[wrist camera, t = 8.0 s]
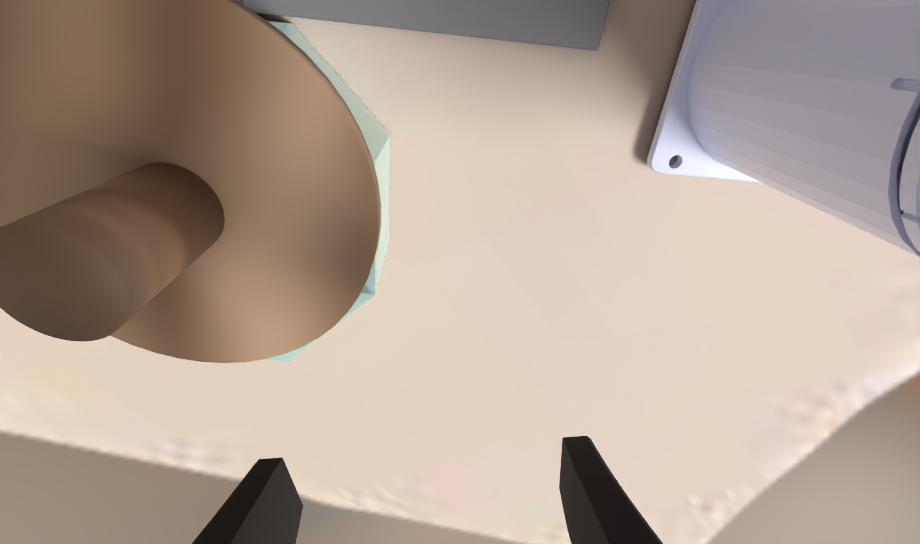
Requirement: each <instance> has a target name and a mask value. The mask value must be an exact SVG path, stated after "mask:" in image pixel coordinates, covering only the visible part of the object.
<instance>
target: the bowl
mask: <svg viewBox="0 0 920 544" xmlns="http://www.w3.org/2000/svg"><path fill="white" fill-rule="evenodd" d="M268 22H269V23H271V24H272V25H273V26H275V27H276V28H278V29H279V30H280V31H282V32H283V33H284V34H285V35H286V36H287V37H288V38H289V39H291V40H292V41H293V42H294V43H295V44H296V45H297V46H298V47H299V48H301V49H302V50H303V51H304V52H305V53H306V54H307V55H308V56H309V57H310V58H311V59H312V61H313V62H314V63H315V64H316V65H317V66H318V67H319V68H320V69H321V71H322V72H323V73H324V74H325V75H326V76H327V77H328V78H329V80H330V81H331V83H332V84H333V85H334V87H335V88H336V90H337V91H338V92H339V94H340V95H341V97H342V98H343V99H344V101H345V102H346V104H347V106H348V107H349V109H350V111H351V113H352V115H353V116H354V118H355V120H356V122H357V124H358V125H359V127H360V129H361V131H362V134H363V136H364V139H365V141H366V144H367V146H368V149H369V151H370V153H371V156H372V160H373V164H374V167H375V171H376V175H377V179H378V185H379V192H380V200H381V229H380V236H379V242H378V248H377V251H376V255H375V258H374V261H373V264H372V267H371V270H370V274H369V277H368V279H367V281H366V283H365V285H364V287H363V289H362V291H361V293H360V295H359V297H358V298H357V300H356V301H355V303H354V304H353V306H352V307H351V308H350V310H349V311H348V312H347V313H346V314H345V316H344V317H343V318H342V319H344V318H345V317H346V316H348V315H349V314H350V313H351V312H353V311H354V310H355V309H357V308H358V307H359V306H361V305H362V304H363V303H364V302H366V301H367V300H368V299H370V298H371V297H372V296H374V295H375V293H376V290H377V286H378V282H379V279H380V275H381V272H382V268H383V264H384V261H385V257H386V254H387V250H388V246H389V194H390V133H389V132H388V131H387V130H386V129H385V128H384V127H383V125H382V124H381V123H380V122H379V121H378V120H377V119H376V117H375V116H374V115H373V114H372V113H371V112H370V111H369V110H368V108H367V107H366V106H365V105H364V104H363V103H362V102H361V100H360V99H359V98H358V97H357V96H356V95H355V94H354V93H353V91H352V90H351V89H350V88H349V87H348V86H347V85H346V83H345V82H344V81H343V80H342V79H341V78H340V77H339V76H338V74H337V73H336V72H335V71H334V70H333V69H332V68H331V66H330V65H329V64H328V63H327V62H326V61H325V60H324V59H323V57H322V56H321V55H320V54H319V53H318V52H317V51H316V50H315V48H314V47H313V46H312V45H311V44H310V43H309V42H308V40H307V39H306V38H305V37H304V36H303V35H302V34H301V33H300V31H299V30H298V29H297V28H296V27H295V26H294V25H293V24H292V23H284V22H275V21H268ZM342 319H341V320H342ZM341 320H340V321H341ZM340 321H339V322H340ZM317 339H318V338H317ZM315 340H316V339H315ZM315 340H314V341H315ZM314 341H312V342H314ZM312 342H310V343H308V344H307V345H305V346H303V347H301V348H298V349H296V350H293V351H291V352H288V353H286V354H282V355H279V356H275V357H271V358H267V359H262V360H277V361H289V360H290V359H292V358H293V357H294V356H296V355H297V354H298V353H299V352H301V351H302V350H303V349H305V348H306V347H307V346H309V345H310V344H311V343H312Z"/></svg>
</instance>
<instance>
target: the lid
mask: <svg viewBox="0 0 920 544" xmlns="http://www.w3.org/2000/svg"><path fill="white" fill-rule="evenodd" d="M380 229H381V200H380V192H379V185H378V179H377V175H376V171H375V167H374V164H373V160H372V156H371V153H370V151H369V149H368V146H367V144H366V141H365V139H364V136H363V134H362V131H361V129H360V127H359V125H358V124H357V122H356V120H355V118H354V116H353V115H352V113H351V111H350V109H349V107H348V106H347V104H346V102H345V101H344V99H343V98H342V97H341V95H340V94H339V92H338V91H337V90H336V88H335V87H334V85H333V84H332V83H331V81H330V80H329V78H328V77H327V76H326V75H325V74H324V73H323V72H322V71H321V69H320V68H319V67H318V66H317V65H316V64H315V63H314V62H313V61H312V59H311V58H310V57H309V56H308V55H307V54H306V53H305V52H304V51H303V50H302V49H301V48H299V47H298V46H297V45H296V44H295V43H294V42H293V41H292V40H291V39H289V38H288V37H287V36H286V35H285V34H284V33H283V32H282V31H280V30H279V29H278V28H276V27H275V26H273V25H272V24H271V23H269V22H268V21H266V20H265V19H263V18H262V17H261V16H259V15H258V14H256V13H255V12H254V11H252V10H250V9H249V8H247V7H245V6H243V5H241V4H240V3H238V2H236V1H234V0H0V308H1V309H3V310H4V311H5V312H6V313H7V314H9V315H10V316H11V317H13V318H14V319H16V320H17V321H19V322H20V323H22V324H24V325H26V326H27V327H29V328H31V329H33V330H35V331H38V332H40V333H43V334H45V335H48V336H52V337H55V338H59V339H63V340H70V341H93V340H98V339H102V338H105V337H107V336H109V335H110V336H113V337H115V338H117V339H120V340H122V341H124V342H127V343H129V344H131V345H134V346H137V347H140V348H143V349H146V350H149V351H152V352H155V353H159V354H163V355H167V356H172V357H176V358H180V359H187V360H194V361H201V362H217V363H233V362H249V361H255V360H262V359H267V358H271V357H275V356H279V355H282V354H286V353H288V352H291V351H293V350H296V349H298V348H301V347H303V346H305V345H307V344H308V343H310V342H312V341H314V340H315V339H317V338H319V337H321V336H322V335H323V334H324V333H326V332H327V331H328V330H330V329H331V328H332V327H334V326H335V325H336V324H337V323H338V322H339V321H340V320H341V319H342V318H343V317H344V316H345V314H346V313H347V312H348V311H349V310H350V308H351V307H352V306H353V304H354V303H355V301H356V300H357V298H358V297H359V295H360V293H361V291H362V289H363V287H364V285H365V283H366V281H367V279H368V277H369V274H370V270H371V267H372V264H373V261H374V258H375V255H376V251H377V248H378V242H379V236H380Z"/></svg>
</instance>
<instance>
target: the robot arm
mask: <svg viewBox="0 0 920 544" xmlns="http://www.w3.org/2000/svg"><path fill="white" fill-rule="evenodd" d="M675 155H677V156H678V159H677V161H676V163H675V164H674V165H672V166H669V161H670V159H671V158H672V157H673V156H675ZM647 164H648V167H649V168H650V169H651V170H653V171H654V172H657V173H665V174H675V175H686V176H697V177H708V178H719V179H730V180H741V181H752V182H761V183H764V184H766V185H768V186H770V187H772V188H774V189H776V190H778V191H781V192H783V193H785V194H787V195H789V196H791V197H793V198H795V199H798V200H800V201H802V202H804V203H806V204H808V205H810V206H812V207H815V208H817V209H819V210H821V211H823V212H825V213H827V214H829V215H832V216H834V217H836V218H838V219H840V220H842V221H844V222H846V223H848V224H851V225H853V226H855V227H857V228H859V229H861V230H863V231H865V232H868V233H870V234H872V235H874V236H876V237H878V238H880V239H882V240H885V241H887V242H889V243H891V244H893V245H895V246H897V247H899V248H902V249H904V250H906V251H908V252H910V253H912V254H914V255H916V256H919V257H920V0H696V3H695V7H694V10H693V13H692V16H691V19H690V23H689V26H688V29H687V32H686V35H685V39H684V42H683V45H682V48H681V51H680V55H679V58H678V61H677V64H676V67H675V71H674V74H673V77H672V80H671V84H670V87H669V90H668V93H667V96H666V100H665V103H664V106H663V109H662V112H661V116H660V119H659V122H658V125H657V128H656V132H655V135H654V138H653V141H652V144H651V148H650V151H649V154H648V157H647ZM559 488H560V494H561V499H562V504H563V509H564V514H565V519H566V524H567V529H568V533H569V536H570V540H571V543H572V544H663V543H662V542H661V540H660V539H659V538H658V536H657V535H656V534H655V533H654V531H653V530H652V529H651V527H650V526H649V525H648V523H647V522H646V521H645V519H644V518H643V517H642V515H641V514H640V513H639V511H638V510H637V508H636V507H635V506H634V504H633V503H632V502H631V500H630V499H629V497H628V496H627V495H626V493H625V492H624V490H623V489H622V487H621V486H620V484H619V483H618V482H617V480H616V479H615V477H614V476H613V474H612V473H611V471H610V470H609V468H608V467H607V465H606V463H605V462H604V460H603V459H602V457H601V455H600V454H599V452H598V451H597V449H596V447H595V446H594V444H593V442H592V440H591V439H590V438H589V437H588V436H578V437H564V438H563V441H562V456H561V470H560V485H559ZM302 508H303V505H302V502H301V500H300V498H299V495H298V493H297V491H296V488H295V486H294V483H293V481H292V479H291V476H290V474H289V472H288V469H287V467H286V465H285V462H284V460H283V458H271V459H259V460H258V461H257V462H256V463H255V465H254V466H253V467H252V468H251V470H250V471H249V472H248V474H247V475H246V476H245V477H244V479H243V480H242V481H241V482H240V484H239V485H238V486H237V488H236V489H235V490H234V491H233V493H232V494H231V495H230V497H229V498H228V499H227V500H226V502H225V503H224V504H223V506H222V507H221V508H220V509H219V511H218V512H217V513H216V514H215V516H214V517H213V518H212V520H211V521H210V522H209V523H208V524H207V526H206V527H205V528H204V529H203V530H202V532H201V533H200V534H199V536H198V537H197V538H196V539H195V540H194V542H193V543H192V544H295V543H296V538H297V533H298V528H299V524H300V518H301V513H302Z"/></svg>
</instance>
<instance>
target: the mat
mask: <svg viewBox="0 0 920 544" xmlns="http://www.w3.org/2000/svg"><path fill="white" fill-rule="evenodd" d="M243 3H244V6H245V7H247V8H249V9H250V10H252V11H254V12H255V13H263V14H272V15H281V16H290V17H299V18H308V19H317V20H326V21H335V22H344V23H353V24H362V25H371V26H380V27H389V28H398V29H407V30H416V31H425V32H434V33H443V34H452V35H461V36H470V37H479V38H488V39H497V40H506V41H515V42H524V43H533V44H542V45H551V46H560V47H569V48H578V49H587V50H596V51H598V48H599V43H600V39H601V35H602V30H603V26H604V21H605V17H606V12H607V8H608V4H609V0H243Z"/></svg>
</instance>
